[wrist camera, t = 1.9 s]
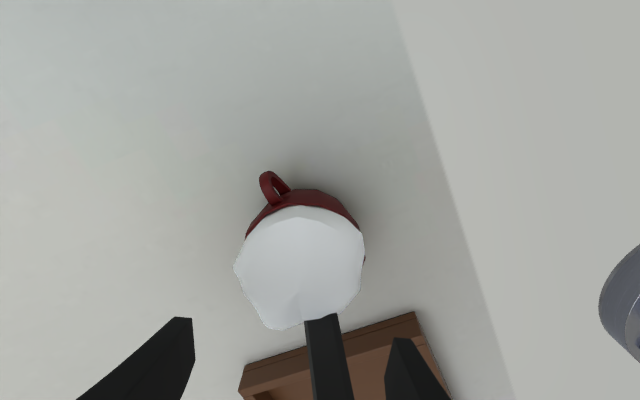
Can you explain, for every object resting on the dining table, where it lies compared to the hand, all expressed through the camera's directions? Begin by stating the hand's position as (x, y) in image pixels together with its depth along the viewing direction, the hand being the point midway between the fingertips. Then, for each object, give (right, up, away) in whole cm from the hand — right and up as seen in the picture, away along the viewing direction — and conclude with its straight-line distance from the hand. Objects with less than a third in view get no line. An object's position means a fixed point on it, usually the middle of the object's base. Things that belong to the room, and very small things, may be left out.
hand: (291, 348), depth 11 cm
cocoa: (0, +3, +8) cm, 9 cm away
